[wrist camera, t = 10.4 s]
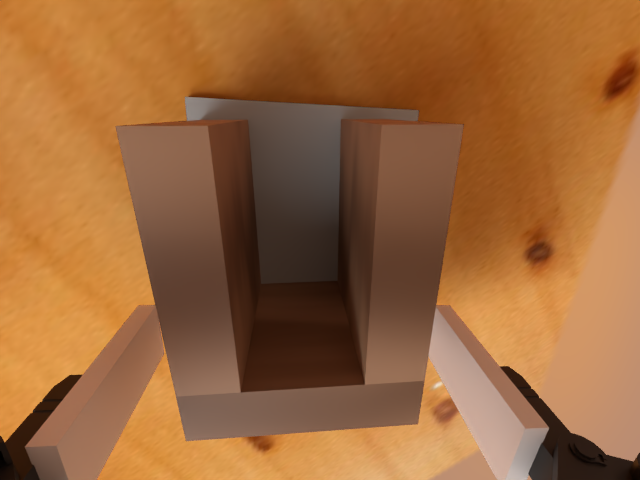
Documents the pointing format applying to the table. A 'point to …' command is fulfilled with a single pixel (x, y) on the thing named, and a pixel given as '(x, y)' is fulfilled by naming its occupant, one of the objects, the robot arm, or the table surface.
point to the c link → (298, 297)
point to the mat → (294, 179)
